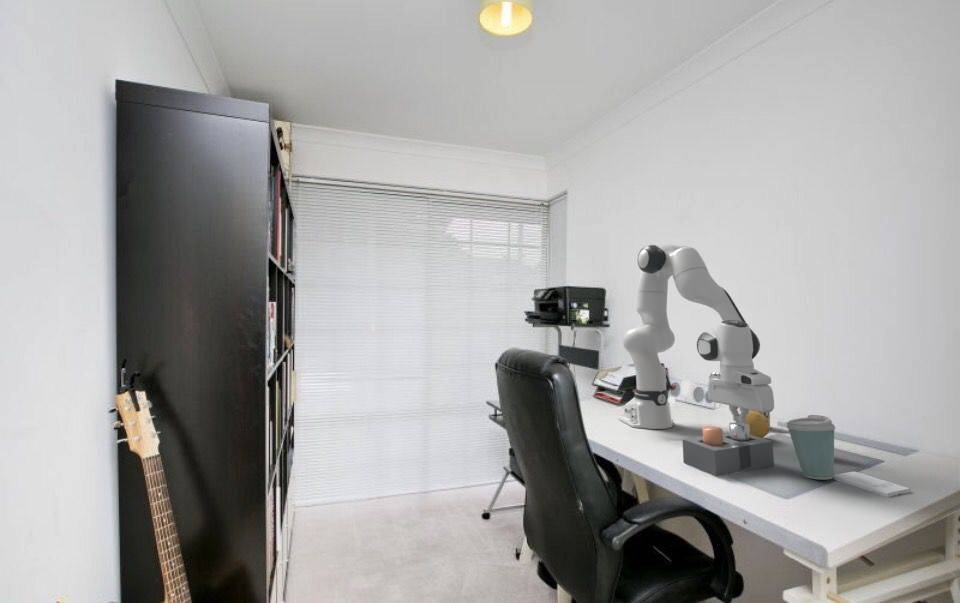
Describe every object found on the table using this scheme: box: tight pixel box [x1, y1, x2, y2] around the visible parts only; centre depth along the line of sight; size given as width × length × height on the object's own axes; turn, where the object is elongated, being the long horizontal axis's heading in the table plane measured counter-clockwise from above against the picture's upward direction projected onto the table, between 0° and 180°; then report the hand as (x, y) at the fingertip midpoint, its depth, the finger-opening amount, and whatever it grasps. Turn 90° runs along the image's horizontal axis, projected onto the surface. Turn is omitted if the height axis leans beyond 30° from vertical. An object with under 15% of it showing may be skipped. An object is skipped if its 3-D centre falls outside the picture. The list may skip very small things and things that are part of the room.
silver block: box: [728, 421, 750, 442], centre depth 133 cm, size 5×5×7 cm
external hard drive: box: [832, 470, 912, 498], centre depth 113 cm, size 2×8×12 cm
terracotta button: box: [702, 425, 724, 447], centre depth 130 cm, size 5×5×7 cm
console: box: [682, 431, 775, 477], centre depth 131 cm, size 12×21×7 cm, turn 108°
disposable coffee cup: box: [786, 417, 836, 481], centre depth 120 cm, size 11×11×15 cm
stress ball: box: [737, 410, 770, 439], centre depth 154 cm, size 10×10×10 cm
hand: (739, 421), depth 133 cm, fingers closed
